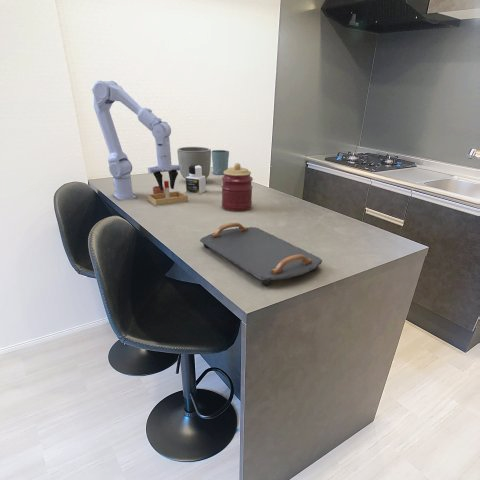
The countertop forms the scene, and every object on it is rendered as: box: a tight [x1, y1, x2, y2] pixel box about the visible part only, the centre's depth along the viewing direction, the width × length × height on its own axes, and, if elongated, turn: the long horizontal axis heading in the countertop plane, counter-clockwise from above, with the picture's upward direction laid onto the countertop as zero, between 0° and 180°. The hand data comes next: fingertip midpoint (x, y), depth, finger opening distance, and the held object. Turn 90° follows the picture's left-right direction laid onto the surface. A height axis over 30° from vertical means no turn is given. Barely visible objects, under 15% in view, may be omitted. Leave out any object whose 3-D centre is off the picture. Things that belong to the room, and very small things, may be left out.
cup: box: [152, 185, 165, 194], centre depth 162 cm, size 5×5×4 cm
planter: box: [176, 146, 212, 180], centre depth 185 cm, size 17×17×16 cm
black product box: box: [185, 165, 207, 194], centre depth 169 cm, size 7×7×12 cm
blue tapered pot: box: [211, 149, 230, 176], centre depth 206 cm, size 10×10×12 cm
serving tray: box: [199, 222, 323, 287], centre depth 107 cm, size 39×23×6 cm, turn 35°
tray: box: [147, 190, 189, 206], centre depth 157 cm, size 10×15×2 cm, turn 122°
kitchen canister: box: [221, 162, 254, 212], centre depth 147 cm, size 13×13×18 cm
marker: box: [163, 180, 170, 199], centre depth 155 cm, size 2×2×8 cm
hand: (166, 189), depth 154 cm, fingers open, 4 cm apart
